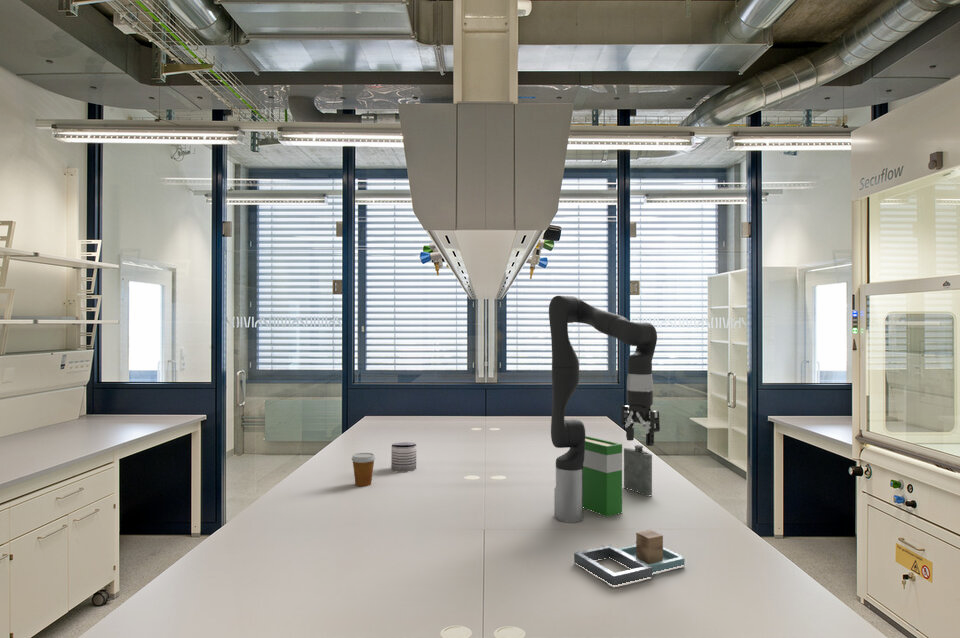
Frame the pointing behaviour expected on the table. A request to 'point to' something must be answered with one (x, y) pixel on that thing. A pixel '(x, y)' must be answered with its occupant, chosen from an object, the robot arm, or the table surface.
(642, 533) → the walnut block
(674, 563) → the tray
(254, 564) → the table surface
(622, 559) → the holder
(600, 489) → the hardback book
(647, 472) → the flask
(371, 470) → the disposable coffee cup
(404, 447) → the can
